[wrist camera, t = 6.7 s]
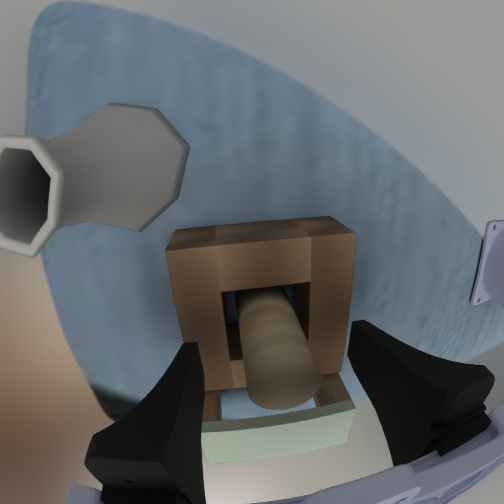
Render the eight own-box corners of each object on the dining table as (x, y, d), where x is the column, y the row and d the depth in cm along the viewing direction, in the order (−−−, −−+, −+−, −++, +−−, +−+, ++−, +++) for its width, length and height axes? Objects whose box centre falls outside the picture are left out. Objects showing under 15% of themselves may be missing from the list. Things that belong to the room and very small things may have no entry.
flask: (54, 193, 14) (-65, 245, 5) (107, 83, 13) (-3, 31, 3) (148, 250, 16) (84, 364, 7) (213, 141, 15) (203, 125, 5)
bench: (323, 345, 20) (356, 408, 14) (320, 382, 22) (345, 442, 16) (199, 361, 19) (197, 433, 13) (208, 397, 21) (209, 464, 15)
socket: (330, 216, 17) (355, 232, 14) (324, 339, 20) (340, 371, 17) (175, 230, 16) (164, 250, 13) (198, 355, 19) (196, 391, 16)
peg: (284, 309, 19) (321, 401, 11) (239, 317, 18) (253, 415, 11) (280, 267, 18) (322, 351, 10) (231, 276, 17) (242, 367, 10)
